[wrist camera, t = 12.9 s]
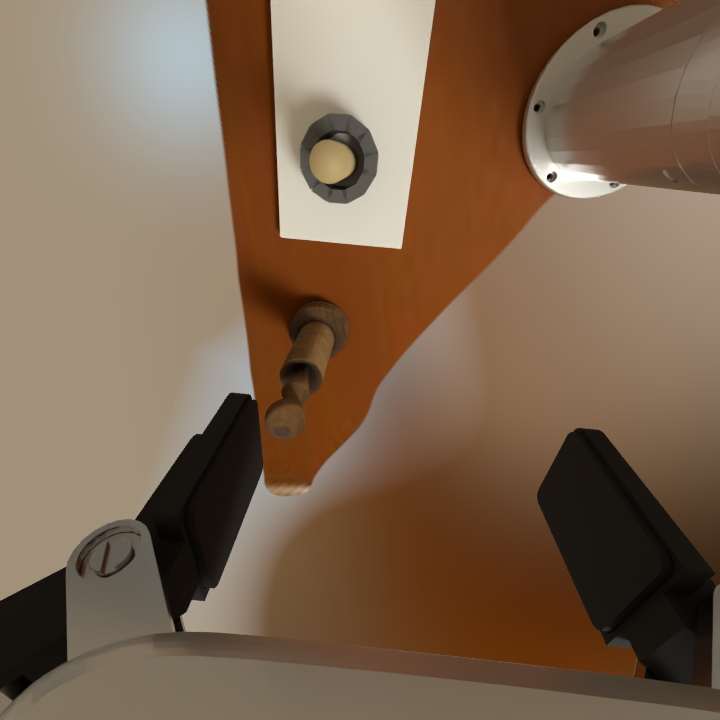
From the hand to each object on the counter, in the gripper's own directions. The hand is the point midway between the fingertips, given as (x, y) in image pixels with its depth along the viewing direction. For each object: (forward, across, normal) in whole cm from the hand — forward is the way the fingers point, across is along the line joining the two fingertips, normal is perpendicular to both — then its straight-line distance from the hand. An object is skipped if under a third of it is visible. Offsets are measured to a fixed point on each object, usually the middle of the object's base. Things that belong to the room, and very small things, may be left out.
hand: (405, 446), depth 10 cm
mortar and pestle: (+28, +7, +10) cm, 31 cm away
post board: (+28, +5, -12) cm, 31 cm away
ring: (+27, +5, -7) cm, 28 cm away
